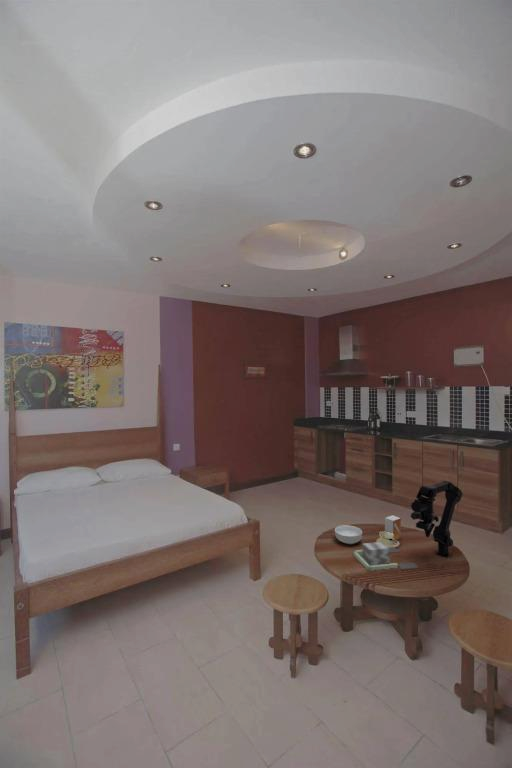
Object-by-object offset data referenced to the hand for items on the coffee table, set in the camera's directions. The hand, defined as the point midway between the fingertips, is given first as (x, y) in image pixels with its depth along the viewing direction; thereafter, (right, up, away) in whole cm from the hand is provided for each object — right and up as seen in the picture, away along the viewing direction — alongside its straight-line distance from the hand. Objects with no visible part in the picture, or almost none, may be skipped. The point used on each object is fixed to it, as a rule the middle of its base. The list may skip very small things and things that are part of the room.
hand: (427, 536), depth 200 cm
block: (-29, -13, -1) cm, 32 cm away
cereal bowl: (-38, -13, +24) cm, 47 cm away
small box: (-9, -13, +28) cm, 32 cm away
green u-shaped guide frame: (-25, -13, 0) cm, 28 cm away
